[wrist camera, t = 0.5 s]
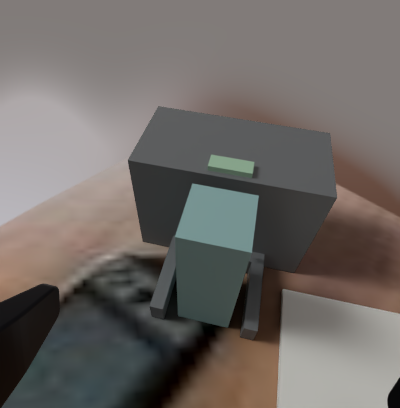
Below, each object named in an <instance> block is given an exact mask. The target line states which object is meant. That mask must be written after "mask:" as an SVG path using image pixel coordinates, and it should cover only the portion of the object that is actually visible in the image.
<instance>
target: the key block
mask: <svg viewBox="0 0 400 408" xmlns="http://www.w3.org/2000/svg"><path fill="white" fill-rule="evenodd" d="M258 198H259V196H258V195H252V194H247V193H242V192H236V191H231V190H225V189H220V188H214V187H209V186H203V185H198V184H193V183H192V186H191V189H190V192H189V196H188V199H187V202H186V205H185V208H184V211H183V214H182V217H181V220H180V223H179V226H178V229H177V232H176V235H175V254H176V278H177V303H178V316H180V317H184V318H188V319H193V320H197V321H201V322H206V323H210V324H214V325H218V326H223V327H227V328H228V326H229V323H230V320H231V316H232V313H233V310H234V307H235V304H236V301H237V298H238V294H239V291H240V288H241V285H242V282H243V279H244V276H245V273H246V269H247V266H248V263H249V260H250V257H251V254H252V247H253V239H254V231H255V222H256V214H257V206H258Z"/></svg>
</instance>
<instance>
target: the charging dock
mask: <svg viewBox="0 0 400 408" xmlns="http://www.w3.org/2000/svg"><path fill="white" fill-rule="evenodd" d="M128 164H129V169H130V174H131V180H132V185H133V191H134V196H135V202H136V207H137V212H138V218H139V223H140V229H141V234H142V239H143V242H148V243H153V244H157V245H162V246H167V247H169V250H168V253H167V256H166V259H165V262H164V265H163V268H162V271H161V274H160V277H159V280H158V283H157V286H156V289H155V292H154V295H153V298H152V301H151V304H150V310H151V315H152V317H157V318H161V319H164V318H165V314H166V311H167V307H168V304H169V301H170V297H171V294H172V290H173V287H174V284H175V280H176V254H175V235H176V232H177V229H178V226H179V223H180V220H181V217H182V214H183V211H184V208H185V205H186V202H187V199H188V196H189V192H190V189H191V186H192V183H193V184H198V185H203V186H209V187H214V188H220V189H225V190H231V191H236V192H242V193H247V194H252V195H258V196H259V198H258V206H257V214H256V222H255V231H254V239H253V247H252V254H251V257H250V260H249V263H248V266H247V269H246V273H248V276H247V284H246V292H245V300H244V308H243V316H242V324H241V332H240V337H241V338H245V339H250V340H253V339H254V337H255V336H256V334H257V332H258V323H259V312H260V301H261V290H262V278H263V267H267V268H272V269H277V270H282V271H287V272H291V273H294V272H295V270H296V269H297V267H298V265H299V263H300V262H301V260H302V258H303V256H304V255H305V253H306V251H307V249H308V248H309V246H310V244H311V242H312V241H313V239H314V237H315V235H316V234H317V232H318V230H319V228H320V227H321V225H322V223H323V221H324V220H325V218H326V216H327V214H328V213H329V211H330V209H331V208H332V206H333V204H334V202H335V201H336V199H337V192H336V183H335V174H334V165H333V157H332V146H331V137H330V133H325V132H319V131H312V130H306V129H299V128H293V127H287V126H280V125H274V124H268V123H261V122H255V121H249V120H242V119H235V118H230V117H223V116H217V115H210V114H204V113H197V112H191V111H185V110H179V109H172V108H166V107H160V106H159V107H158V108H157V110H156V112H155V113H154V115H153V117H152V119H151V120H150V123H149V124H148V126H147V127H146V129H145V131H144V133H143V135H142V136H141V138H140V140H139V142H138V143H137V145H136V147H135V149H134V150H133V152H132V154H131V156H130V157H129V159H128Z"/></svg>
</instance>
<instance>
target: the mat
mask: <svg viewBox="0 0 400 408" xmlns="http://www.w3.org/2000/svg"><path fill="white" fill-rule="evenodd" d="M399 377H400V314H398V313H393V312H389V311H384V310H379V309H375V308H370V307H365V306H361V305H356V304H351V303H347V302H342V301H338V300H333V299H328V298H324V297H319V296H314V295H310V294H305V293H300V292H296V291H291V290H286V289H283V290H282V297H281V321H280V344H279V368H278V391H277V408H388V405H387V398H388V394H389V392H390V391H391V389H392V388H393V386H394V385H395V383H396V382H397V380H398V379H399Z"/></svg>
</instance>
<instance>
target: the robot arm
mask: <svg viewBox="0 0 400 408" xmlns="http://www.w3.org/2000/svg"><path fill="white" fill-rule="evenodd" d="M59 311H60V302H59V289H58V287H56V286H53V285H49V284H40V285H38V286H35V287H33V288H31V289H29V290H27V291H24V292H22V293H20V294H18V295H15V296H13V297H11V298H9V299H7V300H4V301H2V302H0V408H1V407H2V406H3V404H4V403H5V401H6V400H7V399H8V397H9V396H10V394H11V393H12V392H13V390H14V389H15V387H16V386H17V384H18V383H19V382H20V380H21V379H22V377H23V376H24V374H25V373H26V371H27V369H28V368H29V366H30V365H31V363H32V361H33V359H34V358H35V356H36V354H37V352H38V351H39V349H40V347H41V345H42V344H43V342H44V340H45V339H46V337H47V335H48V333H49V332H50V330H51V328H52V326H53V325H54V323H55V321H56V319H57V317H58V315H59ZM387 405H388V408H400V377H399V379H398V380H397V382H396V383H395V385H394V386H393V388H392V389H391V391H390V392H389V394H388V398H387Z"/></svg>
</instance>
